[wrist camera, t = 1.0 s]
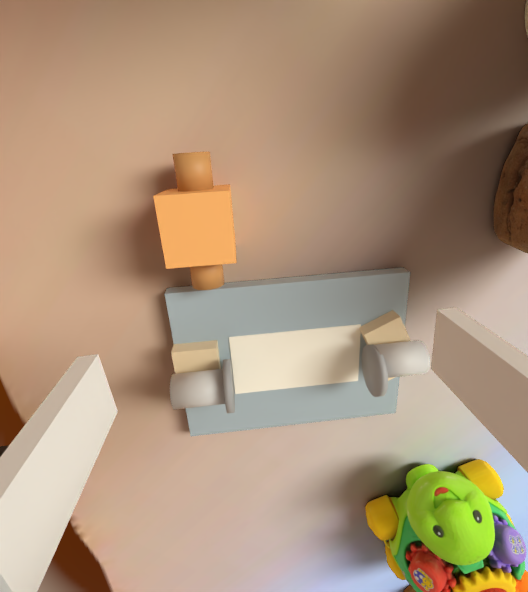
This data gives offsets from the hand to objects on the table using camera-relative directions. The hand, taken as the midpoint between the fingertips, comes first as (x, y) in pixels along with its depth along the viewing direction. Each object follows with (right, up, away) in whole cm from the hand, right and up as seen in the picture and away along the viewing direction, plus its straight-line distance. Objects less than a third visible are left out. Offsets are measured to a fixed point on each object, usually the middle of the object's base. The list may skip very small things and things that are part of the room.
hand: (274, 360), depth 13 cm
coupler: (-6, +9, +16) cm, 19 cm away
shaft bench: (+2, -3, +21) cm, 22 cm away
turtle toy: (+21, -23, +31) cm, 44 cm away
